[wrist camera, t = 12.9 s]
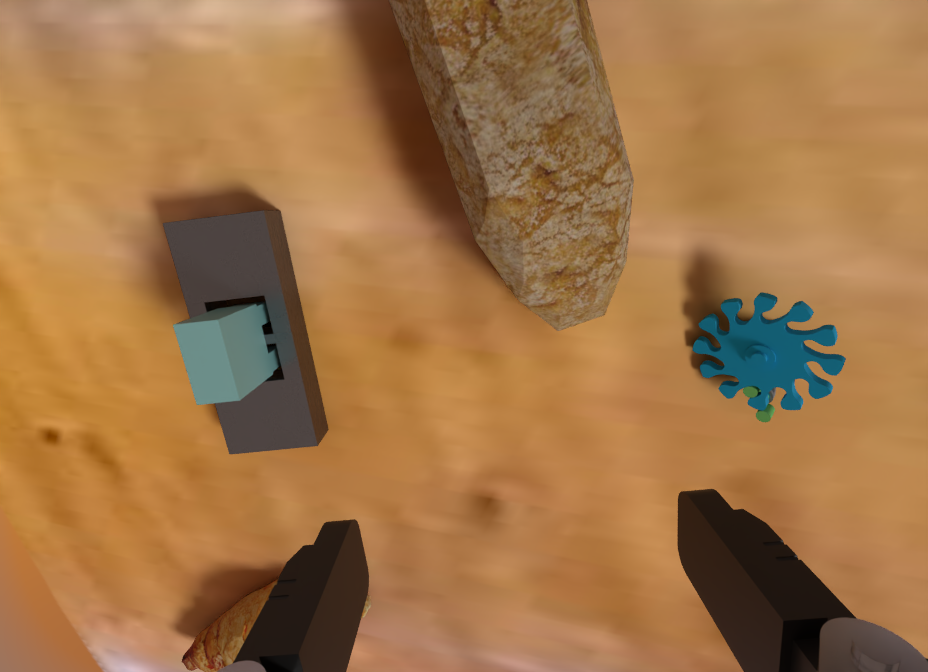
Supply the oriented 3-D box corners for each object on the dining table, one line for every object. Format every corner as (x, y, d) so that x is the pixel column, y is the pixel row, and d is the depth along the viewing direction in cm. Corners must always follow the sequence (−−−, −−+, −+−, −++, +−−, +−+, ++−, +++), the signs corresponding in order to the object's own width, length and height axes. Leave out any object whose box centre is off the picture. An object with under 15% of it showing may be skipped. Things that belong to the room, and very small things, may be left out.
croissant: (368, 541, 49) (336, 563, 41) (395, 638, 47) (366, 681, 39) (203, 599, 51) (143, 631, 43) (221, 696, 49) (160, 747, 41)
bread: (341, -137, 30) (279, -301, 21) (491, -212, 29) (499, -423, 20) (510, 334, 39) (522, 374, 29) (631, 292, 38) (685, 319, 28)
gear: (690, 293, 36) (852, 306, 29) (715, 270, 39) (864, 277, 32) (689, 408, 40) (830, 443, 33) (712, 378, 44) (843, 404, 37)
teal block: (234, 302, 38) (172, 324, 30) (270, 298, 38) (217, 319, 30) (251, 367, 40) (196, 404, 32) (285, 364, 39) (239, 400, 32)
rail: (187, 222, 37) (162, 223, 34) (280, 210, 36) (263, 210, 33) (246, 437, 42) (229, 454, 39) (328, 429, 42) (317, 445, 39)
